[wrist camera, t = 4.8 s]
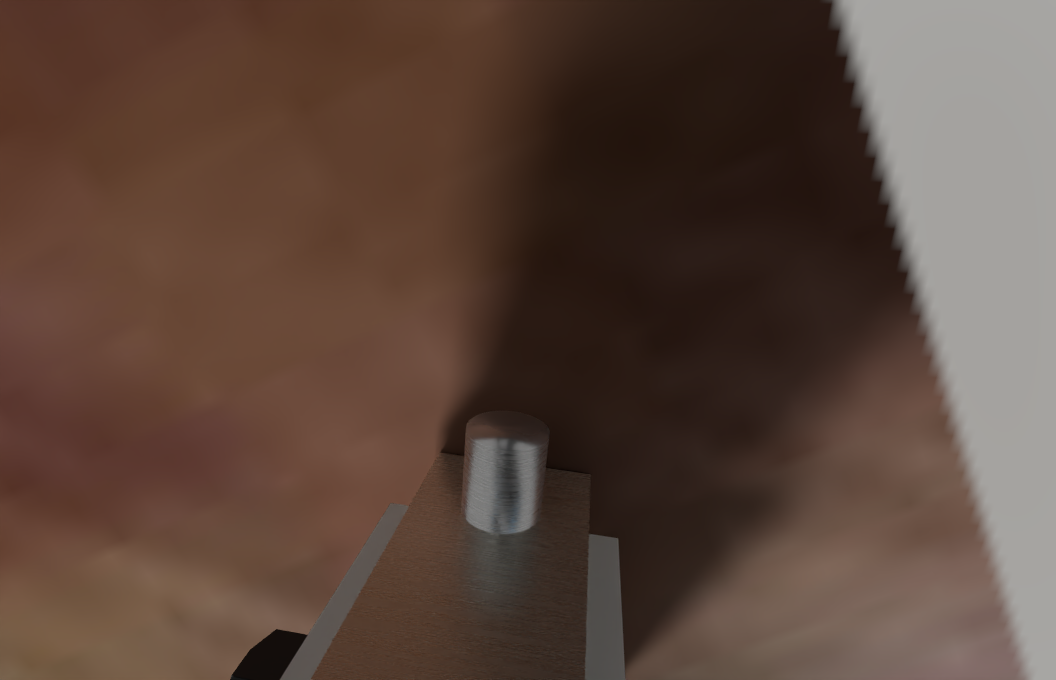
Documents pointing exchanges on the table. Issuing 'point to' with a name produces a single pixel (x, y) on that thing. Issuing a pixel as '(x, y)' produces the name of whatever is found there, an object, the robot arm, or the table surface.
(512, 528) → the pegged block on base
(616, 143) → the table surface
